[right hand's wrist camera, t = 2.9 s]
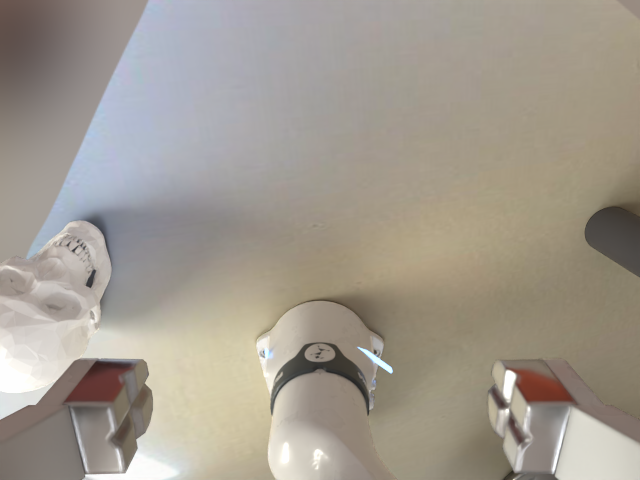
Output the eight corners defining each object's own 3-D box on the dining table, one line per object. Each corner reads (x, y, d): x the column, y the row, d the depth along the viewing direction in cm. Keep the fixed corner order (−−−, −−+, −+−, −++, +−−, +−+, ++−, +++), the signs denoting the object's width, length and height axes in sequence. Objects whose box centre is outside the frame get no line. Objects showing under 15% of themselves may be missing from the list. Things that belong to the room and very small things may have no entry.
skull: (139, 234, 60) (74, 285, 45) (98, 359, 67) (30, 439, 52) (42, 194, 58) (-58, 233, 44) (10, 326, 65) (-85, 399, 51)
